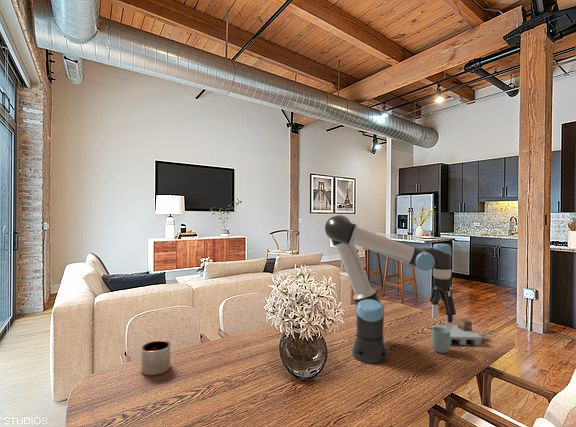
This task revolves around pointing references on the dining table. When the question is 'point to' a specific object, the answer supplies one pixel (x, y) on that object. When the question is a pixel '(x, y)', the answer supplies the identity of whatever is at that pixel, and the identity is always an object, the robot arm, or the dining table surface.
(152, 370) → the planter
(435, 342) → the cup
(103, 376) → the dining table surface
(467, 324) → the block
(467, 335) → the dock
